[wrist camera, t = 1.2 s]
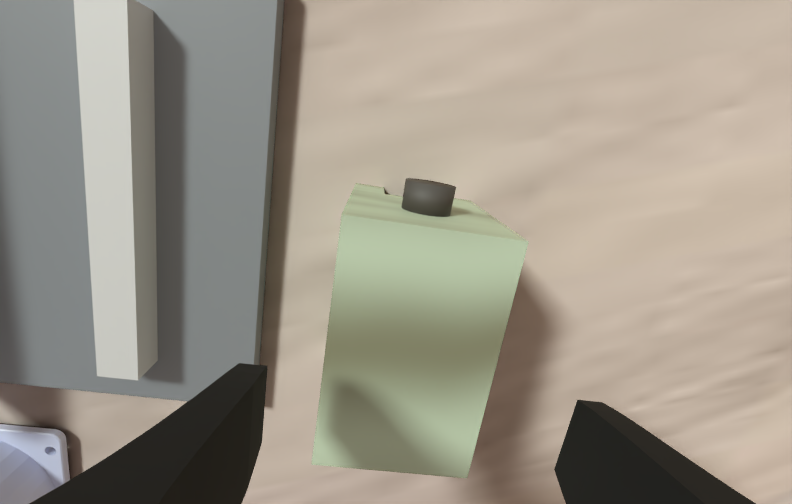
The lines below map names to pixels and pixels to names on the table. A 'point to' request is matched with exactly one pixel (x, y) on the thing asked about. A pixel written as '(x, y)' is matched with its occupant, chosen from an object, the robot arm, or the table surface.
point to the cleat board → (190, 194)
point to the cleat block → (413, 330)
